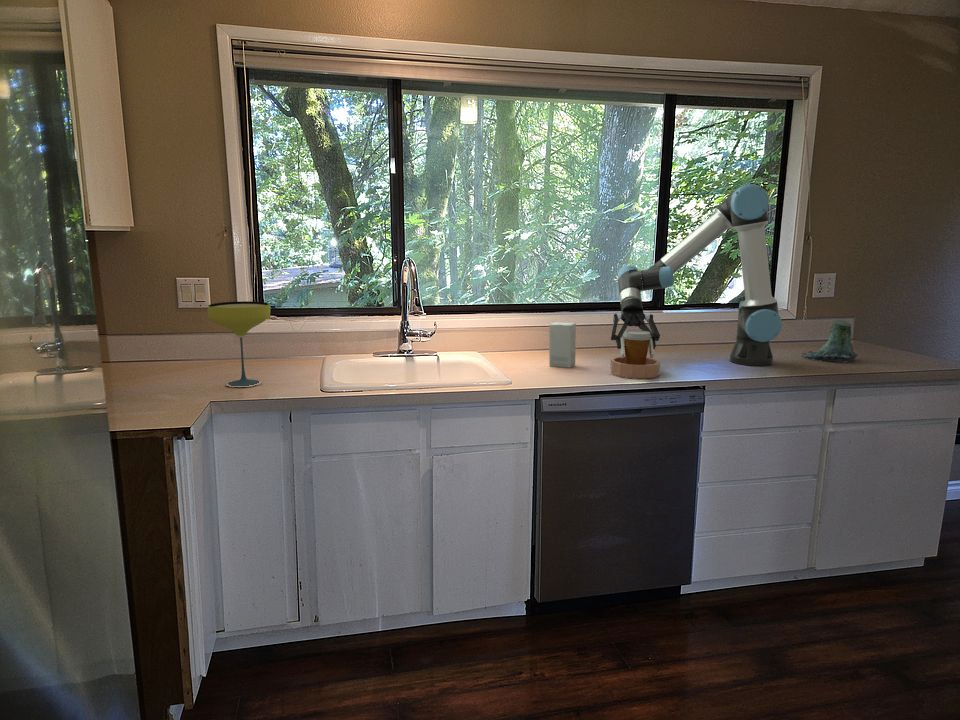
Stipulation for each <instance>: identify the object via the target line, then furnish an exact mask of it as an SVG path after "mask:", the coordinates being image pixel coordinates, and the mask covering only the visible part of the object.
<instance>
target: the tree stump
mask: <svg viewBox="0 0 960 720" xmlns="http://www.w3.org/2000/svg"><path fill="white" fill-rule="evenodd" d="M829 332H830V335H829V337H828V340H827V342H826V343H825V344H823V345H822V346H821V348H820V349H819V350H816V351H814V352H813V351H812V350H809V351H808V352H804V353H801V356H802V357H803V358H804V359H807V358H808V360H812V359H815V360H814V361H819V360H822V361H821V362H827V361H831V362H830V363H844V362H843V361H848V362H852V361H853V360H854V359H856V358H857V357H858V356H859V354H857V353H856V352H854V347H853V344H852V324H851V323H850V322H849V321H846V320H843V319H834V320H833V322H832V326H831V327H830V330H829Z"/></svg>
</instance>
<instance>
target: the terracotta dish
mask: <svg viewBox="0 0 960 720" xmlns="http://www.w3.org/2000/svg"><path fill="white" fill-rule="evenodd" d="M609 366H610V367H609V368H610V369H609V370H610V374H611V373H612V374H611V375H613V376H615V375H616V376H615V377H619V376H621V377H620V378H624V377H627V378H626V379H632V378H640V379H639V380H647V379H646V378H649V379H655V378H657V377H659V375H660V370H661V361H659V360H658V359H656V358H653V359H650V357H646V362H645V365H631V364H626V361H625V355H624V357H623V358H621V356H616V357H612V358H611V359H610V365H609ZM641 378H643V379H641ZM644 378H645V379H644Z"/></svg>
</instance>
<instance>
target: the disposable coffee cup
mask: <svg viewBox="0 0 960 720" xmlns="http://www.w3.org/2000/svg"><path fill="white" fill-rule="evenodd" d="M622 338H623V343H624V353H625V354H624V356H625V361H626V364H631V365H645V362H646V358H648V356H647V355H648V350H649V341H650V339H651V334H650V332H647V331H642V330H641V329H639V330H638V329H631V330H630V329H629V330H625V331H624V334H623V336H622Z"/></svg>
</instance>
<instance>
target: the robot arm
mask: <svg viewBox="0 0 960 720" xmlns="http://www.w3.org/2000/svg"><path fill="white" fill-rule="evenodd" d="M769 203H770V199H769V194H768V192H767V191H766V190H765V189H764V188H763V187H761V186H760V185H758V184H753V183H747V184H743V185H740V186H739V187H736V188H734V190H732V191H731V192H730V193H729V194H728V196H726V198H725V199H724V200H723V201H722V203H720V204H719V205H718V206H717V207H715V209H714V213H712V215H711V216H709V217H708V218H707V219H705V221H703V222H702V223H701V224H700V225H699V226H698V227H696V228H695V229H694V230H693V231H692V232H691V233H689V234H688V235H687V236H685V238H684V239H682V240H681V241H680V242H679V243H678V244H676V245H675V246H674V247H673V248H672V249H671V250H670V251H668V252H667V253H666V254H665V255H663V256H662V257H661V258H660V259H659V260H658V261H657V262H655V264H653V265H651V266H649V268H647V269H643V270H638V268H637V267H636V266H633V265H625V266H622V267H620V269H619V270H618V271H617V272H618V273H617V285H618V291H619V302H620V310H621V314H617V313H614V314H613V317H612V322H613V326H612V330H611V336H610V340H611V341H615V343H616V348H617V349H618V350H619V352H620V357H621V358H623V357H624V356H625V345H624V337H623V334H624V331H627V330H626V329H628V327H638V328H639V330H641V331H647V332H650V334H651V339H650V341H649V346H648V350H649V358H650V359H654V356H655V352H654V350H656V347H657V343H656V342H658V341H660V337H661V334H660V332H659V330H658V327H657V325H656V323H655V321H654V314H649V315H646V314H645V313H644V307H643V299H642V292H646V291H652V290H658V289H667V288H672V287H673V286H674V285H675V280H674V279H675V278H674V275H675V274H676V273H677V272H678V271H679V270H680V269H681V268H683V267H684V266H685V265H686V264H688V263H689V262H690V261H691V260H692V259H694V258H695V257H696V256H697V255H699V254H700V253H701V252H702V251H704V249H706V248H707V247H708V246H709V245H710V244H712V243H713V242H714V241H715V240H717V239H718V238H719V237H720V236H721V235H723V234H724V233H725V232H726V231H727V230H728V229H734V230H735V231H736V232H737V237H738V244H739V245H738V246H739V253H740V254H739V255H740V263H741V271H742V272H741V273H742V280H743V289H744V290H743V291H744V298H745V299H744V300H742V301H740V302H739V306H738V308H737V309H738V314H737V315H738V317H737V326H736V341H735V343H734V345H733V347H732V349H731V352H730V353H729V361H730V362H732V363H733V362H734V364H737V365H743V366H744V365H746V366H752V367H754V366H755V367H756V366H757V367H758V366H760V367H763V366H765V367H766V366H772V365H773V364H774V355H773V352H772V348H771V344H770V343H771V341H773V340H774V339H775V338H776V337H778V336H779V334H780V333H781V331H782V327H783V322H782V319H781V316H780V314H779V306H778V300H777V299H776V298H775V297H774V296H773V295H772V294H773V293H772V288H771V287H772V286H771V277H770V267H769V259H768V258H769V257H768V250H767V249H768V248H767V241H766V231H765V230H766V229H765V228H766V225H768V223H770V222H769V213H768V208H769V205H770V204H769ZM644 320H645V321H646V322H647V323H648V325H649V326H647V324H646V323H645V321H644ZM620 321H622V322H623V324H622V327H621V329H620V330H619V332H618V334H616V333H617V327H618V323H619V322H620Z"/></svg>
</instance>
